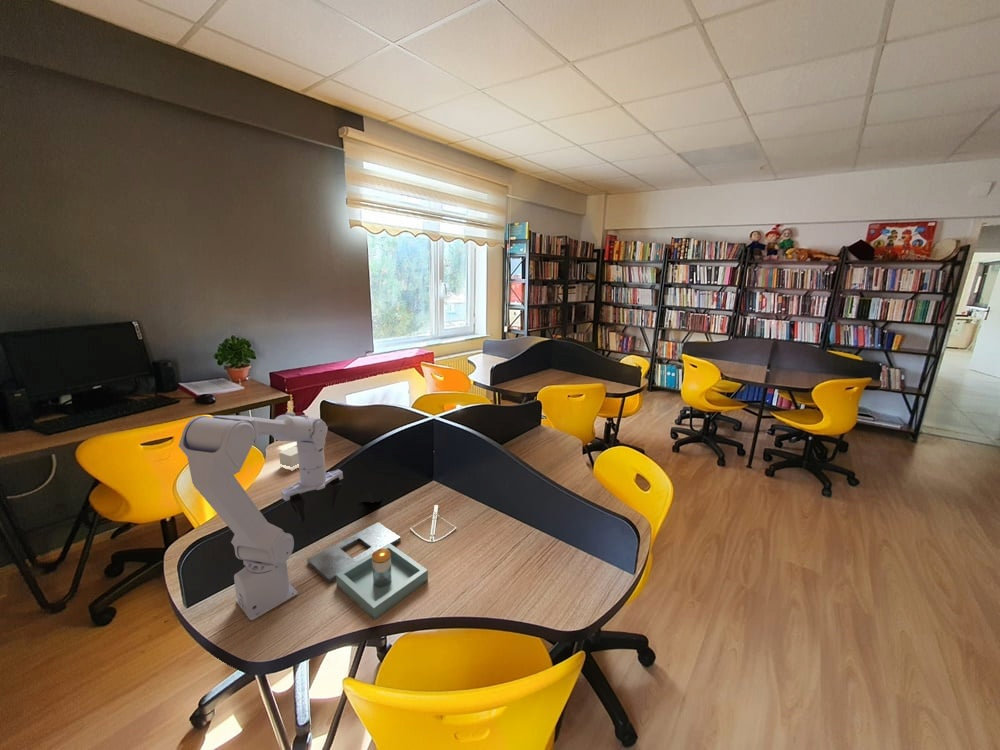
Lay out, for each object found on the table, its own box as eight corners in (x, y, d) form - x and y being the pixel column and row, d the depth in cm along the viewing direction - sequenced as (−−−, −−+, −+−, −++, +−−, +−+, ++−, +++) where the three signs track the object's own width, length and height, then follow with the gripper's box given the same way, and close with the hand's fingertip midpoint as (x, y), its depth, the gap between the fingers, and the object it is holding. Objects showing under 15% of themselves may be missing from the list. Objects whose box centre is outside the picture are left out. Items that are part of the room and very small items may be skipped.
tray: (374, 620, 83) (373, 608, 82) (336, 585, 91) (335, 574, 91) (427, 580, 94) (427, 569, 93) (389, 553, 102) (389, 543, 102)
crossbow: (455, 546, 108) (455, 539, 108) (407, 546, 107) (407, 540, 107) (457, 508, 123) (457, 503, 123) (415, 509, 122) (415, 503, 122)
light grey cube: (292, 471, 141) (290, 456, 140) (280, 467, 144) (278, 452, 142) (306, 464, 147) (305, 449, 145) (295, 461, 149) (293, 446, 148)
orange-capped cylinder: (379, 590, 90) (378, 563, 88) (369, 581, 92) (368, 554, 91) (395, 580, 93) (394, 554, 91) (384, 571, 95) (383, 546, 94)
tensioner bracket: (329, 583, 92) (328, 579, 92) (307, 563, 98) (307, 559, 98) (400, 541, 107) (400, 537, 107) (378, 525, 113) (377, 522, 113)
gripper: (289, 481, 91) (294, 533, 94) (348, 459, 102) (351, 507, 105) (275, 470, 95) (280, 521, 98) (333, 451, 106) (336, 497, 109)
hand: (316, 513), depth 102 cm, fingers open, 7 cm apart
